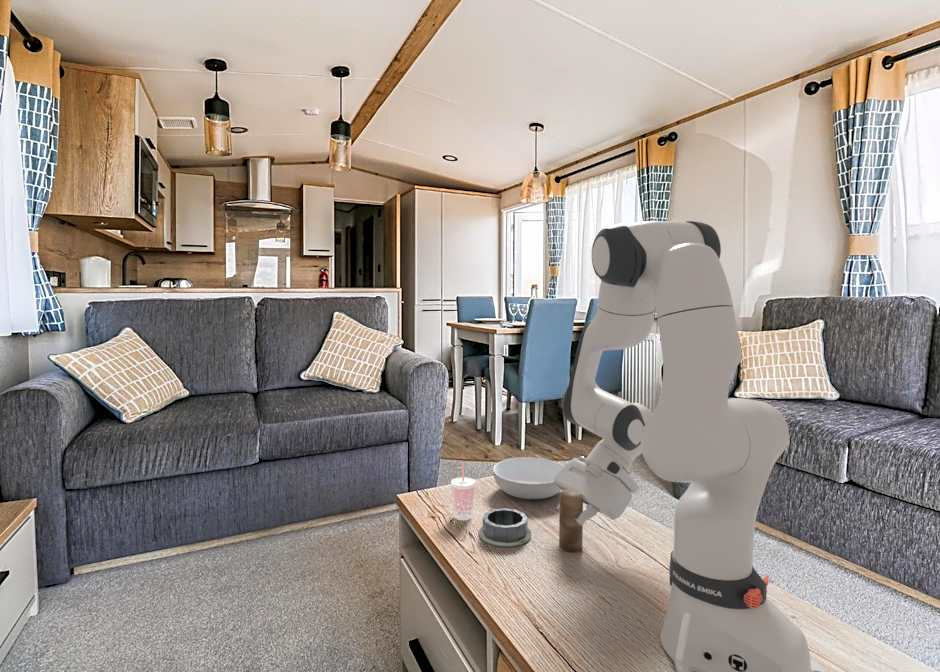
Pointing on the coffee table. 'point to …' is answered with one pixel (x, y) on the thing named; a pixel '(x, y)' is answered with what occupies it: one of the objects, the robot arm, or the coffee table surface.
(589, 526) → the coffee table surface
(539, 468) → the serving bowl
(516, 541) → the cup holder
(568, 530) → the brown rounded cylinder
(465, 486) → the beverage cup
